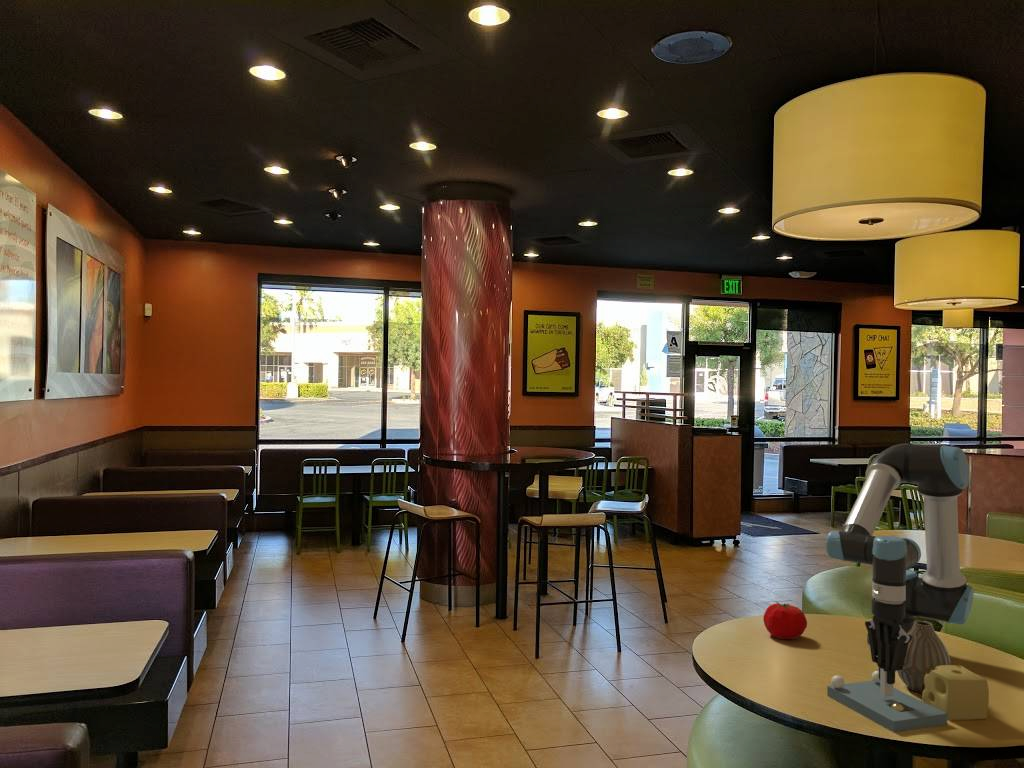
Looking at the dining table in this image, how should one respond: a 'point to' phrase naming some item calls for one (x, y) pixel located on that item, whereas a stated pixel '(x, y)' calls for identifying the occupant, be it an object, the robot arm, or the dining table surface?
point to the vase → (922, 655)
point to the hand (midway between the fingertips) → (886, 695)
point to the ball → (898, 707)
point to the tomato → (784, 621)
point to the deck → (887, 706)
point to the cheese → (957, 692)
